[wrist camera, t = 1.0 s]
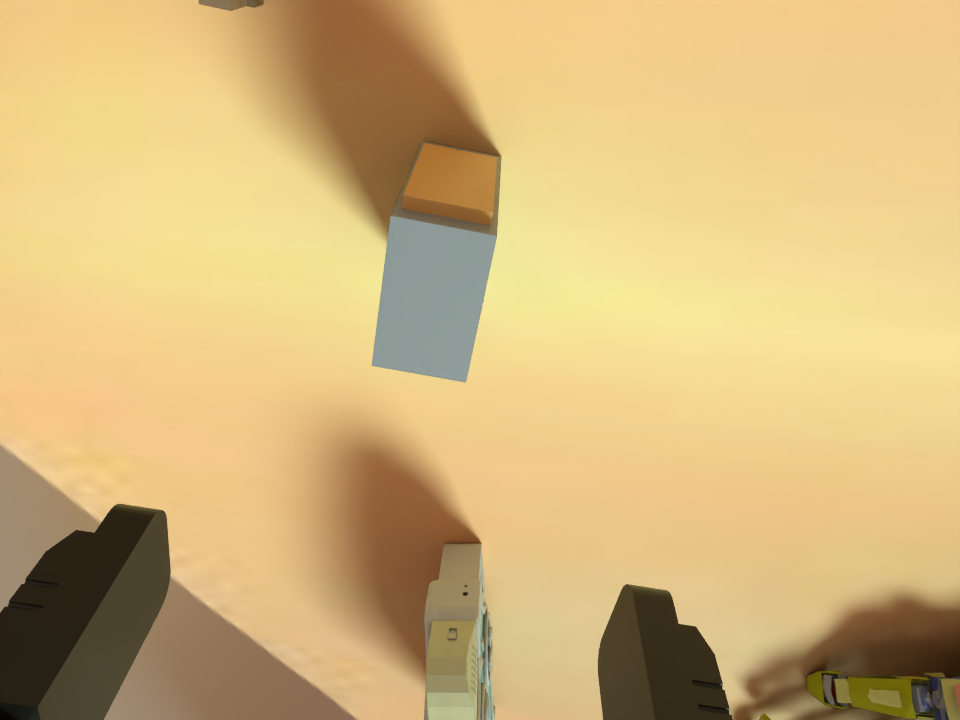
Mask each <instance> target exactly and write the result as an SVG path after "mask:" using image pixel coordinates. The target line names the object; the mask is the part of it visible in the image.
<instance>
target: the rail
mask: <svg viewBox="0 0 960 720" xmlns="http://www.w3.org/2000/svg"><path fill="white" fill-rule="evenodd" d="M199 4H201V5H206V6H211V7H216V8H220V9H225V10H230V11H232V10H235V9H238V8H242V7H245V6H249V7H257V6H261V5H263V0H199Z"/></svg>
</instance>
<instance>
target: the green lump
mask: <svg viewBox="0 0 960 720" xmlns="http://www.w3.org/2000/svg"><path fill="white" fill-rule="evenodd" d="M821 673H822V674H821ZM837 674H838V677H834V676H837ZM923 675H924V677H917V676H893V675H888V676H853V677H848V678H847V679H846V675H845V673H843V672H840V671H818V672H813V674H809V675H808V676H807V689H808V690H809V692H810V694H811V695H813V696H814V697H816V698H817V699H818V700H819V701H820V702H822V703H824V704H825V705H827V706H831V707H836V708H841V709H848V703H851V704H852V706H853V707H857V708H862V709H866V710H871V711H875V712H879V713H884V714H888V715H893V716H897V717H901V718H909V719H917V717H919V718H933V719H934V720H960V677H948V678H944V677H945V676H944V674H943V672H942V673H923ZM840 704H841V705H840ZM931 712H932V714H933V716H930V715H931ZM915 714H919V715H915ZM759 720H771V719H770V718H769V717H767V716H766V715H765V714H763V715H761V717H760V719H759Z"/></svg>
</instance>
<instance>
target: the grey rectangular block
mask: <svg viewBox="0 0 960 720" xmlns="http://www.w3.org/2000/svg"><path fill="white" fill-rule="evenodd" d="M500 172H501V156H497V155H492V154H487V153H482V152H477V151H472V150H467V149H462V148H457V147H451V146H446V145H441V144H436V143H431V142H426V141H422V143H421V145H420V147H419V150H418V152H417V155H416V157H415V159H414V162H413V164H412V166H411V169H410V171H409V173H408V176H407V178H406V181H405V183H404V185H403V188H402V190H401V192H400V195H399V197H398V199H397V202H396V204H395V206H394V209H393V211H392V214H391V217H390V225H389V232H388V240H387V248H386V256H385V264H384V272H383V280H382V288H381V296H380V304H379V312H378V320H377V328H376V336H375V344H374V352H373V360H372V366H376V367H382V368H387V369H393V370H399V371H404V372H410V373H415V374H421V375H427V376H432V377H438V378H444V379H449V380H455V381H460V382H466V380H467V375H468V370H469V366H470V361H471V356H472V352H473V347H474V342H475V337H476V333H477V328H478V323H479V318H480V314H481V309H482V304H483V299H484V295H485V290H486V285H487V280H488V276H489V271H490V266H491V261H492V257H493V252H494V247H495V242H496V238H497V225H498V207H499V190H500Z"/></svg>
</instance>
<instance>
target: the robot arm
mask: <svg viewBox="0 0 960 720" xmlns="http://www.w3.org/2000/svg"><path fill="white" fill-rule="evenodd" d="M169 581H170V557H169V543H168V529H167V517H166V513H165V512H164V511H163V510H157V509H150V508H144V507H137V506H131V505H125V504H117V505H115V506H114V507H113V508H112V509H111V510H110V511H109V513H108V514H107V515H106V517H105V518H104V520H103V521H102V523H101V524H100V526H99V527H98V529H97V530H96V532H95V533H92V532H85V531H79V530H76V531H74V532H73V533H71V534H70V535H69V536H67V537H66V538H65V539H63V540H62V541H60V542H59V543H57V544H56V545H55V546H53V547H52V548H50V549H49V550H48V551H46V552H45V554H44V555H43V556H42V558H41V559H40V560H39V562H38V563H37V564H36V566H35V567H34V568H33V570H32V571H31V573H30V574H29V575H28V576H27V578H26V581H25V584H22V585H21V586H20V587H19V589H18V590H17V591H16V593H15V594H14V595H13V596H12V598H11V599H10V601H9V605H8V606H7V607H4V609H3V610H2V611H1V613H0V720H104V718H105V716H106V714H107V712H108V710H109V708H110V706H111V704H112V702H113V700H114V699H115V697H116V695H117V693H118V691H119V689H120V687H121V685H122V683H123V681H124V679H125V677H126V675H127V673H128V671H129V669H130V667H131V666H132V664H133V662H134V660H135V658H136V656H137V654H138V652H139V650H140V648H141V646H142V644H143V642H144V640H145V638H146V636H147V635H148V633H149V631H150V629H151V627H152V625H153V623H154V621H155V619H156V617H157V615H158V613H159V611H160V609H161V607H162V605H163V603H164V600H165V597H166V594H167V590H168V586H169ZM598 677H599V686H600V694H601V703H602V712H603V720H732V716H731V715H729V705H728V701H727V698H726V694H725V691H724V690H723V689H722V685H723V683H722V680H721V676H720V672H719V669H718V665H717V661H716V658H715V654H714V653H713V651H712V650H711V648H710V647H709V645H708V644H707V642H706V641H705V639H704V638H703V637H702V635H701V634H700V632H699V631H698V629H697V628H696V627H695V626H688V625H682V624H678V620H677V615H676V611H675V607H674V603H673V599H672V596H671V594H670V593H669V592H668V591H666V590H660V589H654V588H648V587H641V586H635V585H628V584H626V585H625V586H624V587H623V588H622V590H621V592H620V595H619V597H618V600H617V602H616V605H615V607H614V610H613V612H612V614H611V617H610V619H609V622H608V624H607V627H606V629H605V631H604V634H603V637H602V639H601V643H600V648H599V656H598Z"/></svg>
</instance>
